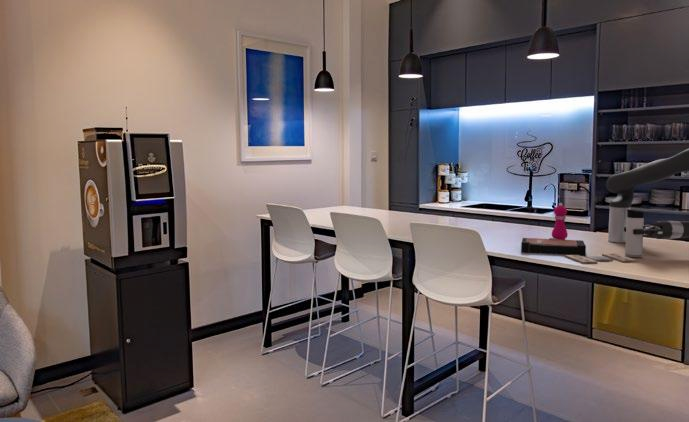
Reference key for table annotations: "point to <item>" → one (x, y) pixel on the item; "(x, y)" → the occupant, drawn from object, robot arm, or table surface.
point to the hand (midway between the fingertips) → (628, 230)
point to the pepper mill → (560, 223)
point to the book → (553, 246)
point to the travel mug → (633, 241)
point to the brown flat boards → (600, 258)
